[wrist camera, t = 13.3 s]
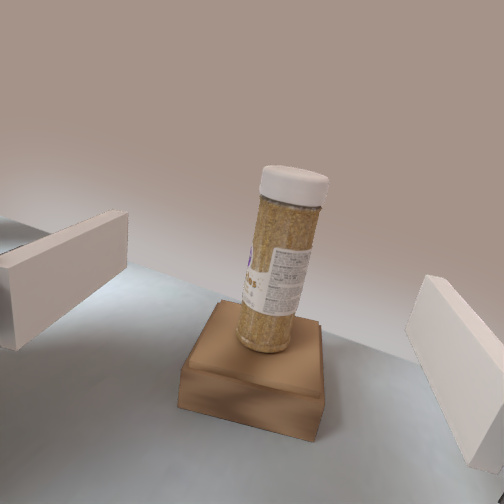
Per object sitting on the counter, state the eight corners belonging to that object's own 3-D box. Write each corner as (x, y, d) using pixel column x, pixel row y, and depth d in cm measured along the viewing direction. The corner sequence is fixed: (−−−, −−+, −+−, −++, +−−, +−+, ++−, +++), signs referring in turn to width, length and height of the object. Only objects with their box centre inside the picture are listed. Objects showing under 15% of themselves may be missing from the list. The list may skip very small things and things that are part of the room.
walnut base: (177, 407, 25) (181, 362, 24) (213, 332, 34) (218, 296, 33) (313, 442, 24) (327, 398, 23) (313, 355, 33) (322, 320, 32)
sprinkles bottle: (231, 321, 29) (257, 160, 25) (281, 323, 30) (316, 169, 26) (239, 356, 25) (272, 170, 21) (297, 357, 26) (342, 180, 22)
